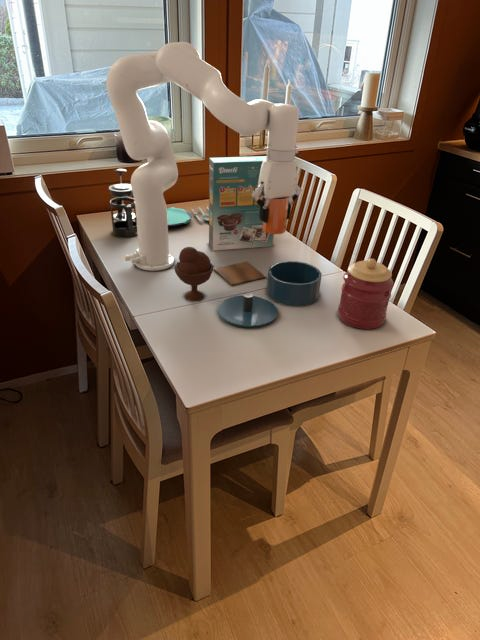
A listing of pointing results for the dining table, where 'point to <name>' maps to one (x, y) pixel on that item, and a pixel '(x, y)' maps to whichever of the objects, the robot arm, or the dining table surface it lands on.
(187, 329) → the dining table surface
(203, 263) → the ice cream bowl
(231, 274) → the plate
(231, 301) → the lid
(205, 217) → the cutlery set
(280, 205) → the cup
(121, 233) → the french press
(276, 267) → the pot
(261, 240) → the cake mix box
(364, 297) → the kitchen canister
